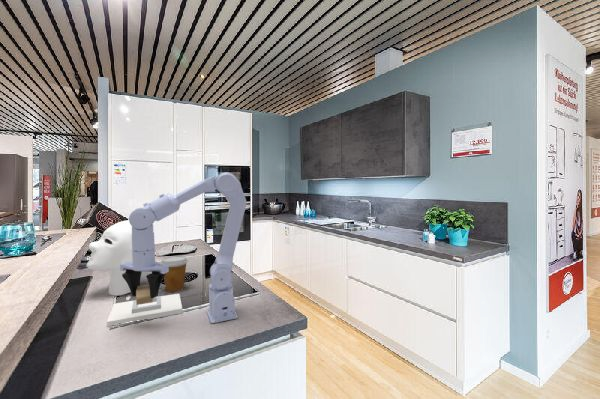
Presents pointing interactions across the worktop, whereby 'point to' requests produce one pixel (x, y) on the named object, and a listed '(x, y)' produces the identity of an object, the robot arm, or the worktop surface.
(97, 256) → the mannequin head
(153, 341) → the worktop surface
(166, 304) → the display stand
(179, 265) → the disposable coffee cup
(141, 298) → the oak cube
